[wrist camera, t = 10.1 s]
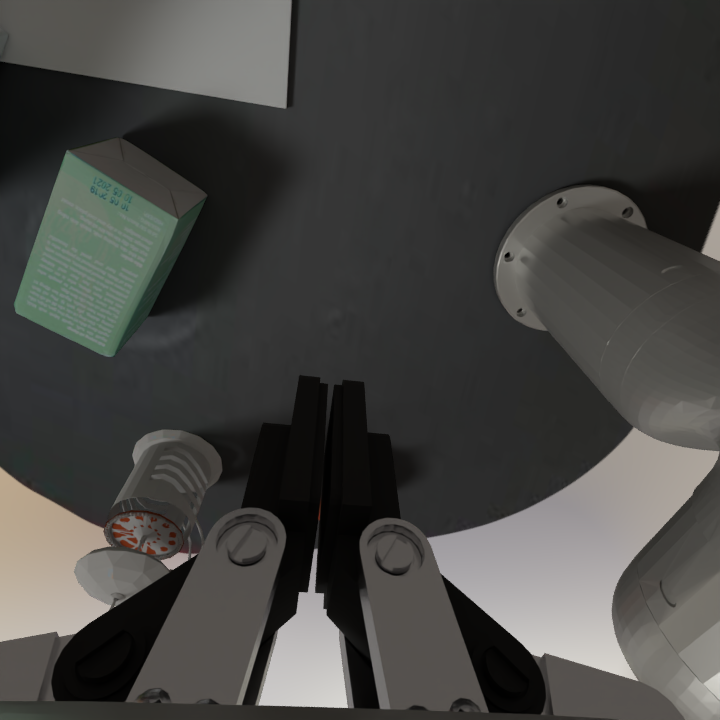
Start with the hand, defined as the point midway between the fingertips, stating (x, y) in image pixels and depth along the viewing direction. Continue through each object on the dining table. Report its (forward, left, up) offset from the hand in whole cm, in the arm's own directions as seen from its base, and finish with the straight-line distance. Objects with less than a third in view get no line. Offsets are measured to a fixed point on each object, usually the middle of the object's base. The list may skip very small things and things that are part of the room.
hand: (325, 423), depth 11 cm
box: (+16, +5, -28) cm, 32 cm away
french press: (+14, +31, -27) cm, 44 cm away
